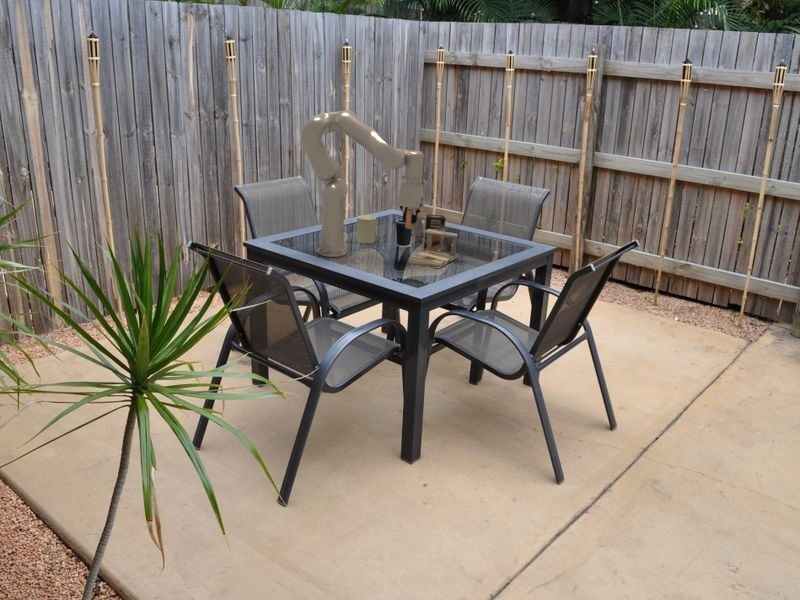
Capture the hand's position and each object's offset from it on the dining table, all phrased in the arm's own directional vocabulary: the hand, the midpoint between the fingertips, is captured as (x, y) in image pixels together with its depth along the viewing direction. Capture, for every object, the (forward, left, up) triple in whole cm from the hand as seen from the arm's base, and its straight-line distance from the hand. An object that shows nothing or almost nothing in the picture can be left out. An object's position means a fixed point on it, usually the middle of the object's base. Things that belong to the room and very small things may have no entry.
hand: (409, 222), depth 317 cm
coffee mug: (+44, +16, -17) cm, 50 cm away
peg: (0, 0, -2) cm, 2 cm away
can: (+15, +30, -17) cm, 38 cm away
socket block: (+6, -10, -17) cm, 21 cm away
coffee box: (+24, -1, -17) cm, 30 cm away
